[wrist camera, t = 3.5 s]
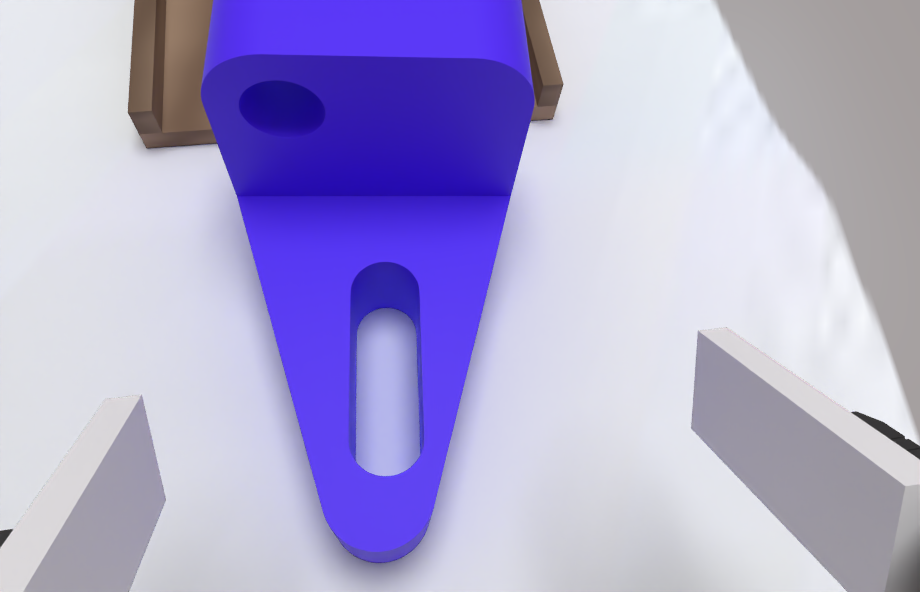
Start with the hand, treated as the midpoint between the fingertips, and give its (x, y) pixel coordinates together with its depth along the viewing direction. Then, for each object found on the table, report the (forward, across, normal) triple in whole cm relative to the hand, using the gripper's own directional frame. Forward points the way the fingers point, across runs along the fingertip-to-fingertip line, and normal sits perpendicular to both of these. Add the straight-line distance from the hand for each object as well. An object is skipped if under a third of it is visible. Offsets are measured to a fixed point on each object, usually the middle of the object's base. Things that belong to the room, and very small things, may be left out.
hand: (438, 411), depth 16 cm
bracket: (+13, -1, -4) cm, 14 cm away
